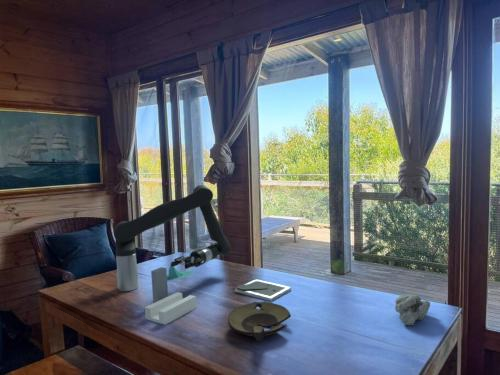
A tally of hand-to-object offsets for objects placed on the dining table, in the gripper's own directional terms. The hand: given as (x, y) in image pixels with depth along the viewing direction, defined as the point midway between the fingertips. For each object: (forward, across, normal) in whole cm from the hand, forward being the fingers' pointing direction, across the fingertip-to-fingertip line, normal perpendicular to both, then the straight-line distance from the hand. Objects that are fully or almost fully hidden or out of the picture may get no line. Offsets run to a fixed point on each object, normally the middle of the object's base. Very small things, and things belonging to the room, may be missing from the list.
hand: (178, 265), depth 168 cm
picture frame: (-20, +32, +15) cm, 41 cm away
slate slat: (+12, 0, +13) cm, 18 cm away
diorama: (-21, -20, +14) cm, 32 cm away
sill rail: (+17, +12, +13) cm, 25 cm away
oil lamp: (+15, +51, +14) cm, 55 cm away
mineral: (-20, +96, +15) cm, 100 cm away
